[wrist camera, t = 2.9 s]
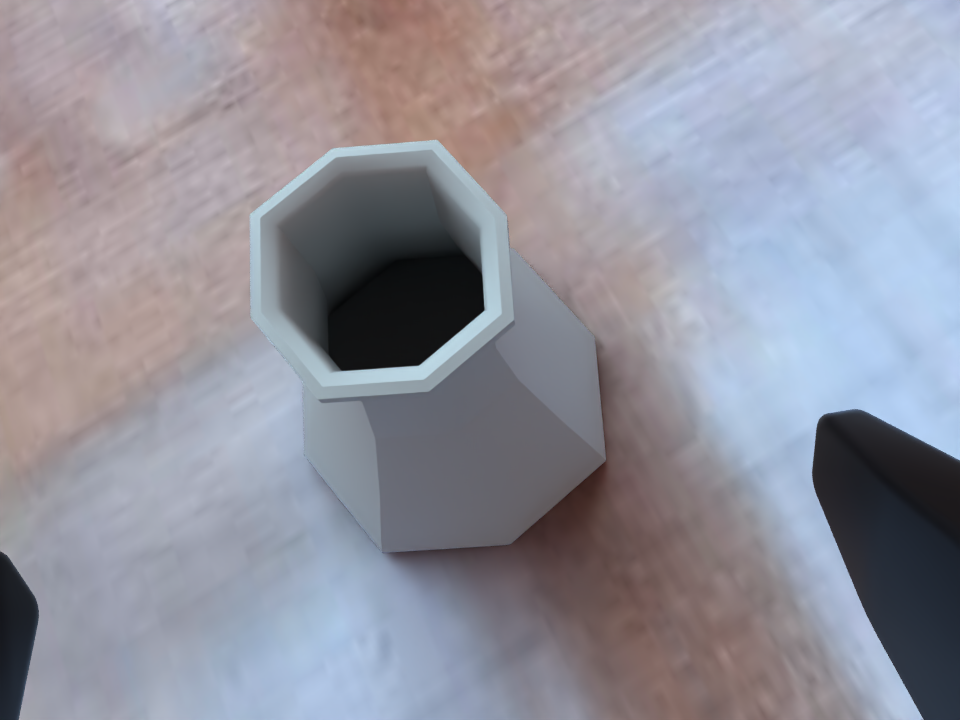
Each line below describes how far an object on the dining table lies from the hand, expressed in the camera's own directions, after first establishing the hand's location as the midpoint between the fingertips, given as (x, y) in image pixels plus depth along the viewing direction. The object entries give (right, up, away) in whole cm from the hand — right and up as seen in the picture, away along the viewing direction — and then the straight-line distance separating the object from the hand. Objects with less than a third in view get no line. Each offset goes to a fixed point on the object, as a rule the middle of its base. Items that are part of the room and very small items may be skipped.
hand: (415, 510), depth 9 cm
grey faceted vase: (0, +1, +10) cm, 10 cm away
